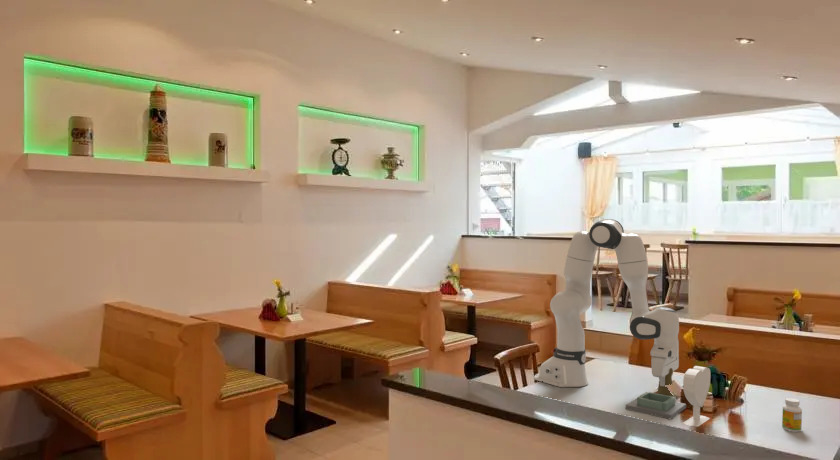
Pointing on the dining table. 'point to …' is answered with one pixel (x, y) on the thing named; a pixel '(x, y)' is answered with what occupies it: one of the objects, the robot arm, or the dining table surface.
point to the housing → (656, 405)
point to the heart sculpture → (696, 392)
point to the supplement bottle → (792, 415)
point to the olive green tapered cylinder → (668, 379)
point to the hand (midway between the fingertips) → (665, 384)
